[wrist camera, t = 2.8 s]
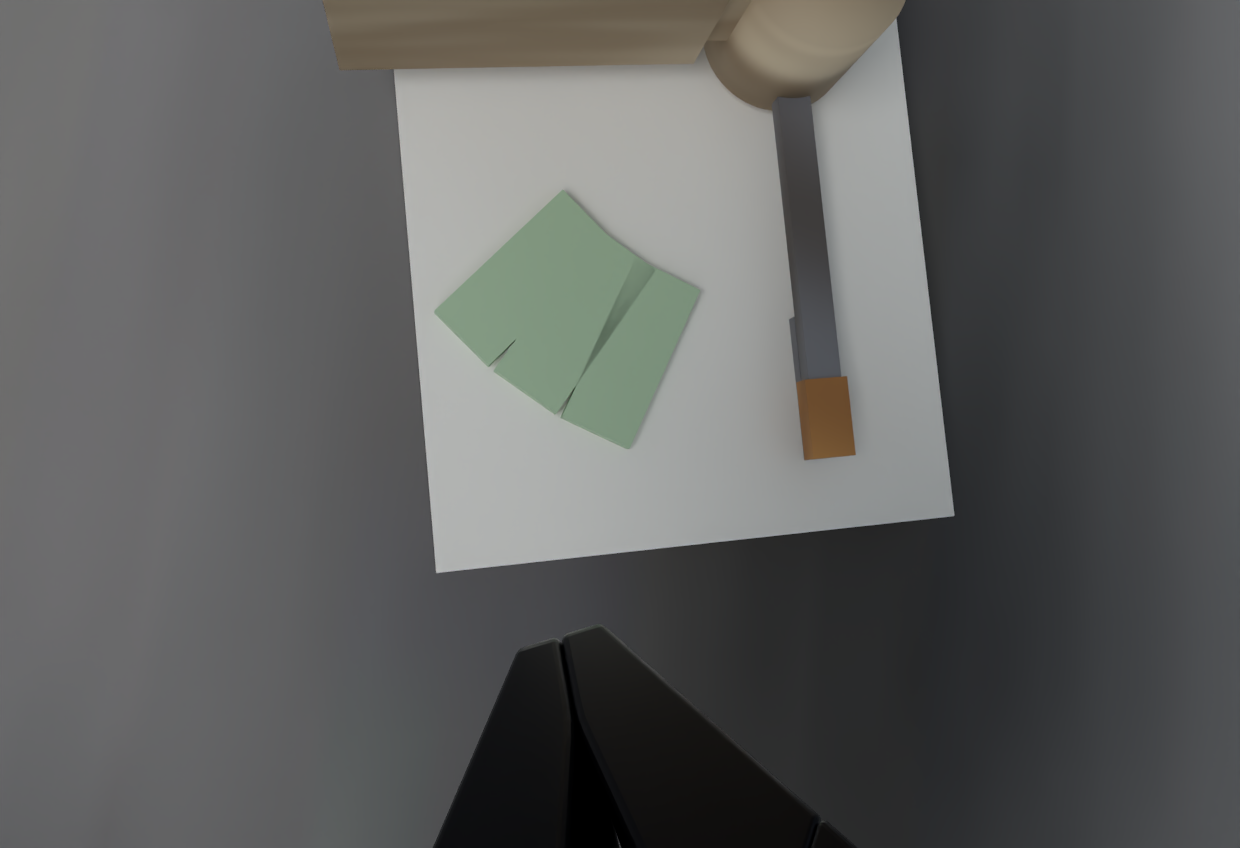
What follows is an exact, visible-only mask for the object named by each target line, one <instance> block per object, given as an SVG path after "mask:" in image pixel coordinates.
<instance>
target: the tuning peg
mask: <svg viewBox="0 0 1240 848" xmlns="http://www.w3.org/2000/svg"><path fill="white" fill-rule="evenodd" d="M904 3H905V0H323V4H324V8H325V12H326V16H327V20H328V24H329V28H330V33H331V37H332V41H333V45H334V49H335V53H336V57H337V61H338V65H339V69H340V70H375V69H431V68H486V67H542V66H598V65H654V64H694V62H695V61H696V59H697V57H698V55H699V54H700V52H701V50H702V48H703V46H704V50H705V53H706V56H707V59H708V62H709V64H710V66H711V68H712V70H713V71H714V73H715V75H716V76H717V78H718V79H719V80H720V81H721V83H722V84H723V85H724V86H725V87H726V88H727V89H728V90H729V91H730V92H731V93H733V94H734V95H735V96H736V97H738V98H739V99H741V100H743V101H744V102H746V103H748V104H750V105H753V106H755V107H758V108H761V109H765V110H771V111H772V112H773V122H774V131H775V140H776V149H777V159H778V168H779V177H780V186H781V196H782V205H783V214H784V223H785V232H786V242H787V251H788V260H789V269H790V279H791V288H792V297H793V306H794V316H795V325H796V334H797V343H798V353H799V362H800V371H801V380H802V381H799V382H796V385H797V395H798V404H799V413H800V423H801V432H802V441H803V450H804V460H811V459H822V458H832V457H843V456H852V455H856V452H855V443H854V434H853V425H852V416H851V407H850V398H849V389H848V380H847V376H843V377H841V368H840V359H839V350H838V341H837V332H836V323H835V314H834V305H833V296H832V287H831V278H830V269H829V260H828V251H827V242H826V233H825V224H824V215H823V206H822V197H821V187H820V178H819V169H818V160H817V151H816V142H815V133H814V124H813V115H812V106H811V104H812V103H814V102H816V101H818V100H819V99H820V98H821V97H823V96H824V95H825V94H826V93H827V92H828V91H829V90H830V89H831V88H832V87H833V86H834V85H835V84H836V83H837V81H838V80H839V79H840V78H841V77H842V76H843V75H844V74H845V73H846V72H847V71H848V70H849V69H850V68H851V66H852V65H853V64H854V63H855V62H856V61H857V60H858V59H859V58H860V57H861V56H862V55H863V54H864V53H865V52H866V50H867V49H868V48H869V47H870V46H871V45H872V44H873V43H874V42H875V41H876V40H877V39H878V38H879V37H880V36H881V34H882V33H883V32H884V31H885V30H886V29H887V28H888V27H889V26H890V25H891V24H892V23H893V22H894V20H895V19H896V17H897V16H898V15H899V13H900V11H901V9H902V7H903V5H904Z"/></svg>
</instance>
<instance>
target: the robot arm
mask: <svg viewBox="0 0 1240 848" xmlns="http://www.w3.org/2000/svg"><path fill="white" fill-rule="evenodd" d="M616 833H617V835H616ZM617 836H618V839H619V842H620V845H621V847H622V848H857V847H856V846H855V845H854V844H853V843H851V842H850V841H849V840H848V839H847V838H846V837H845V836H844V835H842V834H841V833H840V832H839V831H838V830H837V829H836V828H834V827H833V826H832V825H831V824H830V823H829V822H827V821H821V818H820V816H819V815H818V814H817V813H816V812H815V811H814V810H812V809H811V808H810V807H809V806H808V805H807V804H806V803H804V802H803V801H802V800H801V799H800V798H799V797H798V796H797V795H795V794H794V793H793V792H792V791H791V790H790V789H789V788H787V787H786V786H785V785H784V784H783V783H782V782H781V781H780V780H778V779H777V778H776V777H775V776H774V775H773V774H772V773H770V772H769V771H768V770H767V769H766V768H765V767H764V766H763V765H761V764H760V763H759V762H758V761H757V760H756V759H755V758H753V757H752V756H751V755H750V754H749V753H748V752H747V751H746V750H744V749H743V748H742V747H741V746H740V745H739V744H738V743H736V742H735V741H734V740H733V739H732V738H731V737H730V736H729V735H727V734H726V733H725V732H724V731H723V730H722V729H721V728H720V727H718V726H717V725H716V724H715V723H714V722H713V721H712V720H710V719H709V718H708V717H707V716H706V715H705V714H704V713H703V712H701V711H700V710H699V709H698V708H697V707H696V706H695V705H693V704H692V703H691V702H690V701H689V700H688V699H687V698H686V697H684V696H683V695H682V694H681V693H680V692H679V691H678V690H676V689H675V688H674V687H673V686H672V685H671V684H670V683H669V682H667V681H666V680H665V679H664V678H663V677H662V676H661V675H659V674H658V673H657V672H656V671H655V670H654V669H653V668H652V667H650V666H649V665H648V664H647V663H646V662H645V661H644V660H642V659H641V658H640V657H639V656H638V655H637V654H636V653H635V652H633V651H632V650H631V649H630V648H629V647H628V646H627V645H625V644H624V643H623V642H622V641H621V640H620V639H619V638H618V637H616V636H615V635H614V634H613V633H612V632H611V631H610V630H609V629H607V628H606V627H604V626H603V625H600V624H597V625H593V626H590V627H586V628H583V629H580V630H577V631H574V632H570V633H568V634H566V635H565V636H564V637H563V639H562V643H561V641H559V640H558V639H556V638H551V639H548V640H545V641H542V642H539V643H536V644H532V645H529V646H526V647H523V648H521V649H520V650H519V651H518V652H517V654H516V656H515V658H514V660H513V663H512V665H511V667H510V670H509V672H508V674H507V677H506V679H505V681H504V684H503V686H502V688H501V691H500V693H499V695H498V697H497V700H496V702H495V704H494V707H493V709H492V711H491V714H490V716H489V718H488V721H487V723H486V725H485V728H484V730H483V732H482V735H481V737H480V739H479V742H478V744H477V746H476V749H475V751H474V753H473V756H472V758H471V760H470V763H469V765H468V767H467V770H466V772H465V774H464V777H463V779H462V781H461V784H460V786H459V788H458V791H457V793H456V795H455V798H454V800H453V802H452V805H451V807H450V809H449V812H448V814H447V816H446V819H445V821H444V823H443V825H442V828H441V830H440V832H439V835H438V837H437V839H436V842H435V844H434V846H433V848H619V844H618V839H617Z"/></svg>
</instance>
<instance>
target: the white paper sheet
mask: <svg viewBox="0 0 1240 848" xmlns="http://www.w3.org/2000/svg"><path fill="white" fill-rule="evenodd" d="M394 78H395V90H396V102H397V114H398V125H399V137H400V149H401V161H402V173H403V185H404V196H405V208H406V220H407V232H408V244H409V256H410V267H411V279H412V291H413V303H414V315H415V327H416V338H417V350H418V362H419V374H420V386H421V398H422V409H423V421H424V433H425V445H426V457H427V469H428V480H429V492H430V504H431V516H432V528H433V539H434V551H435V563H436V573H440V572H449V571H458V570H467V569H476V568H486V567H495V566H504V565H513V564H522V563H531V562H540V561H549V560H559V559H568V558H577V557H586V556H595V555H604V554H613V553H622V552H631V551H641V550H650V549H659V548H668V547H677V546H686V545H695V544H704V543H714V542H723V541H732V540H741V539H750V538H759V537H768V536H777V535H787V534H796V533H805V532H814V531H823V530H832V529H841V528H850V527H860V526H869V525H878V524H887V523H896V522H905V521H914V520H923V519H932V518H942V517H951V516H954V508H953V499H952V490H951V482H950V473H949V465H948V456H947V448H946V439H945V430H944V422H943V413H942V405H941V396H940V388H939V379H938V370H937V362H936V353H935V345H934V336H933V328H932V319H931V310H930V302H929V293H928V285H927V276H926V268H925V259H924V251H923V242H922V233H921V225H920V216H919V208H918V199H917V191H916V182H915V173H914V165H913V156H912V148H911V139H910V131H909V122H908V113H907V105H906V96H905V88H904V79H903V71H902V62H901V53H900V45H899V36H898V28H897V19H895V20H894V22H893V23H892V24H891V25H890V26H889V27H888V28H887V29H886V30H885V31H884V32H883V33H882V34H881V36H880V37H879V38H878V39H877V40H876V41H875V42H874V43H873V44H872V45H871V46H870V47H869V48H868V49H867V50H866V52H865V53H864V54H863V55H862V56H861V57H860V58H859V59H858V60H857V61H856V62H855V63H854V64H853V65H852V66H851V68H850V69H849V70H848V71H847V72H846V73H845V74H844V75H843V76H842V77H841V78H840V79H839V80H838V81H837V83H836V84H835V85H834V86H833V87H832V88H831V89H830V90H829V91H828V92H827V93H826V94H825V95H824V96H823V97H821V98H820V99H819V100H818V101H816V102H814V103H812V104H811V106H812V115H813V124H814V133H815V142H816V151H817V160H818V169H819V178H820V187H821V197H822V206H823V215H824V224H825V233H826V242H827V251H828V260H829V269H830V278H831V287H832V296H833V305H834V314H835V323H836V332H837V341H838V350H839V359H840V368H841V377H843V376H847V380H848V389H849V398H850V407H851V416H852V425H853V434H854V443H855V452H856V455H852V456H843V457H832V458H822V459H811V460H804V450H803V441H802V432H801V423H800V413H799V404H798V395H797V385H796V382H799V381H802V380H801V371H800V362H799V353H798V343H797V334H796V325H795V316H794V306H793V297H792V288H791V279H790V269H789V260H788V251H787V242H786V232H785V223H784V214H783V205H782V196H781V186H780V177H779V168H778V159H777V149H776V140H775V131H774V122H773V112H772V111H771V110H765V109H761V108H758V107H755V106H753V105H750V104H748V103H746V102H744V101H743V100H741V99H739V98H738V97H736V96H735V95H734V94H733V93H731V92H730V91H729V90H728V89H727V88H726V87H725V86H724V85H723V84H722V83H721V81H720V80H719V79H718V78H717V76H716V75H715V73H714V71H713V70H712V68H711V66H710V64H709V62H708V59H707V56H706V53H705V50H704V46H703V48H702V50H701V52H700V54H699V55H698V57H697V59H696V61H695V62H694V64H654V65H598V66H542V67H486V68H431V69H394Z"/></svg>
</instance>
